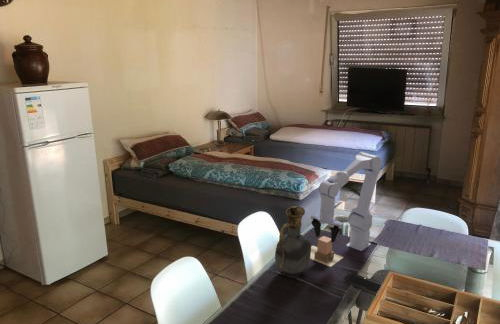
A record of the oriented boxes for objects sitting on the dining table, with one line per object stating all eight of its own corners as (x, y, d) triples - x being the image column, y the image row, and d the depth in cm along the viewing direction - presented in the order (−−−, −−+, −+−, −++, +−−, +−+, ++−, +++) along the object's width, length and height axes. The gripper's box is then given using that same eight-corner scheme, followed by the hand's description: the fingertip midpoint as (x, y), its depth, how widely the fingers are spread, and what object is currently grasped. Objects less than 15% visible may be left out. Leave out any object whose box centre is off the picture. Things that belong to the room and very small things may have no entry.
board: (312, 246, 187) (313, 245, 187) (343, 258, 177) (343, 257, 176) (299, 255, 179) (299, 254, 179) (330, 268, 169) (330, 266, 168)
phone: (350, 272, 164) (386, 284, 156) (349, 274, 165) (386, 287, 156) (342, 281, 158) (380, 294, 150) (342, 283, 159) (379, 297, 150)
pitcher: (312, 268, 168) (316, 201, 160) (291, 290, 153) (294, 217, 145) (289, 261, 174) (292, 195, 166) (266, 281, 159) (268, 210, 150)
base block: (321, 253, 180) (322, 247, 179) (333, 257, 176) (334, 251, 175) (314, 258, 175) (314, 252, 175) (326, 263, 171) (326, 256, 171)
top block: (322, 248, 178) (323, 235, 176) (331, 251, 175) (332, 239, 173) (317, 251, 175) (317, 239, 173) (326, 255, 172) (327, 242, 170)
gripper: (307, 207, 171) (306, 236, 175) (337, 216, 162) (335, 247, 166) (316, 202, 176) (315, 231, 180) (346, 211, 167) (344, 241, 171)
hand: (325, 238), depth 173 cm, fingers open, 7 cm apart
